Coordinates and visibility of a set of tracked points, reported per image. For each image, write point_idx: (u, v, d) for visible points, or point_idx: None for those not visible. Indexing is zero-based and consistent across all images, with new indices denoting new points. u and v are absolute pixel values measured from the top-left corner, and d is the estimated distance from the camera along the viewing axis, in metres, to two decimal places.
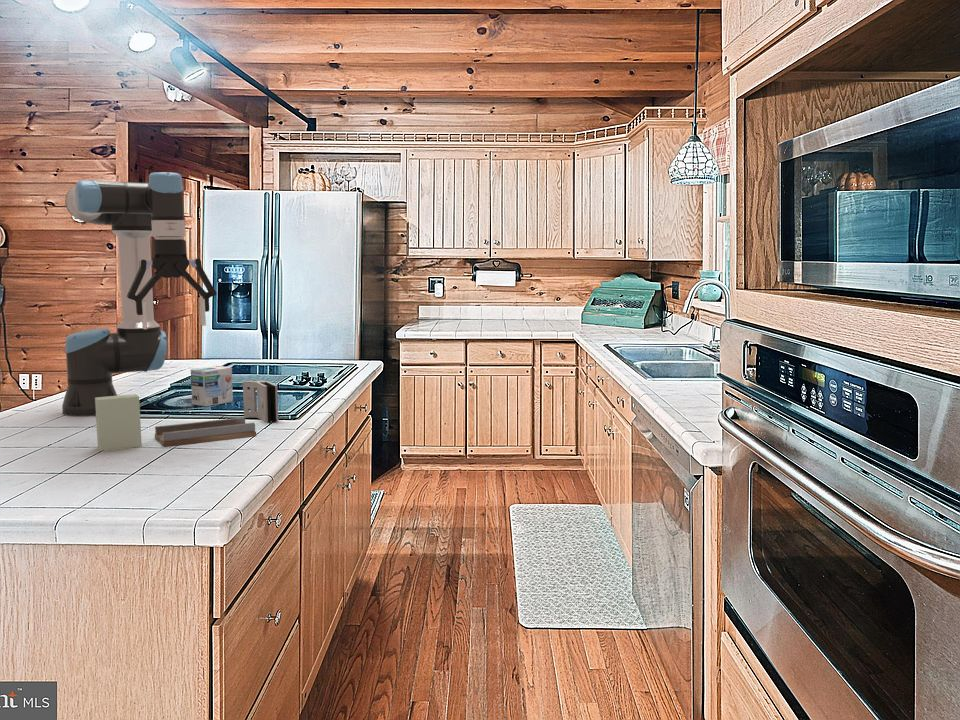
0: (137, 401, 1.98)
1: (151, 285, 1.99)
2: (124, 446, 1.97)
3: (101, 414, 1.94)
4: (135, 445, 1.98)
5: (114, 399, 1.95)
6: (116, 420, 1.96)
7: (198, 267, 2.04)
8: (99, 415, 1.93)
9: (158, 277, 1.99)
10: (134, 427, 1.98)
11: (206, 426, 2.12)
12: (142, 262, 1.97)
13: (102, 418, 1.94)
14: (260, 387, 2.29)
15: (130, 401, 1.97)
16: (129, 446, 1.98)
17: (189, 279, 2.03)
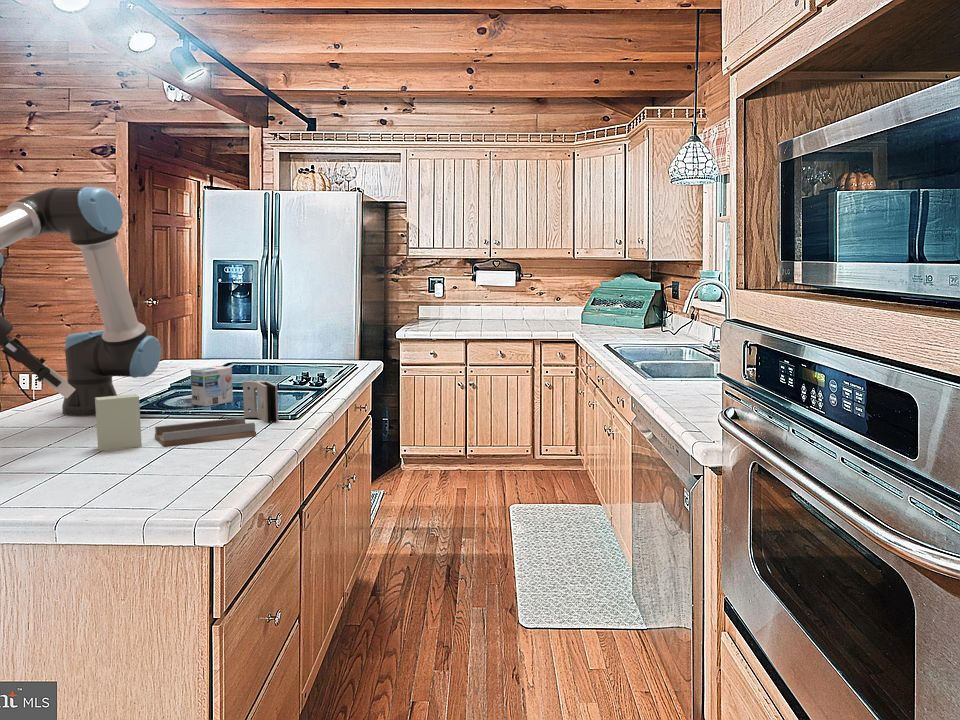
0: (137, 401, 1.98)
1: None
2: (124, 446, 1.97)
3: (101, 414, 1.94)
4: (135, 445, 1.98)
5: (114, 399, 1.95)
6: (116, 420, 1.96)
7: (11, 355, 1.79)
8: (99, 415, 1.93)
9: None
10: (134, 427, 1.98)
11: (206, 426, 2.12)
12: None
13: (102, 418, 1.94)
14: (260, 387, 2.29)
15: (130, 401, 1.97)
16: (129, 446, 1.98)
17: None
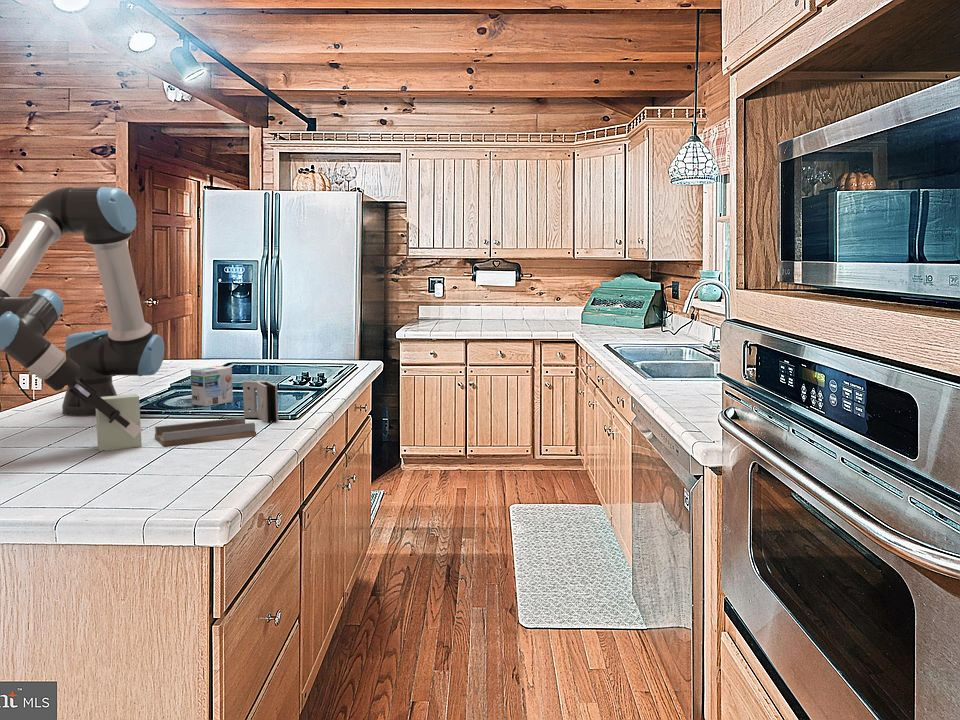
0: (137, 401, 1.98)
1: None
2: (124, 446, 1.97)
3: (101, 414, 1.94)
4: (135, 445, 1.98)
5: (114, 399, 1.95)
6: None
7: (84, 399, 1.88)
8: (99, 415, 1.93)
9: None
10: None
11: (206, 426, 2.12)
12: None
13: (102, 418, 1.94)
14: (260, 387, 2.29)
15: (130, 401, 1.97)
16: (129, 446, 1.98)
17: None
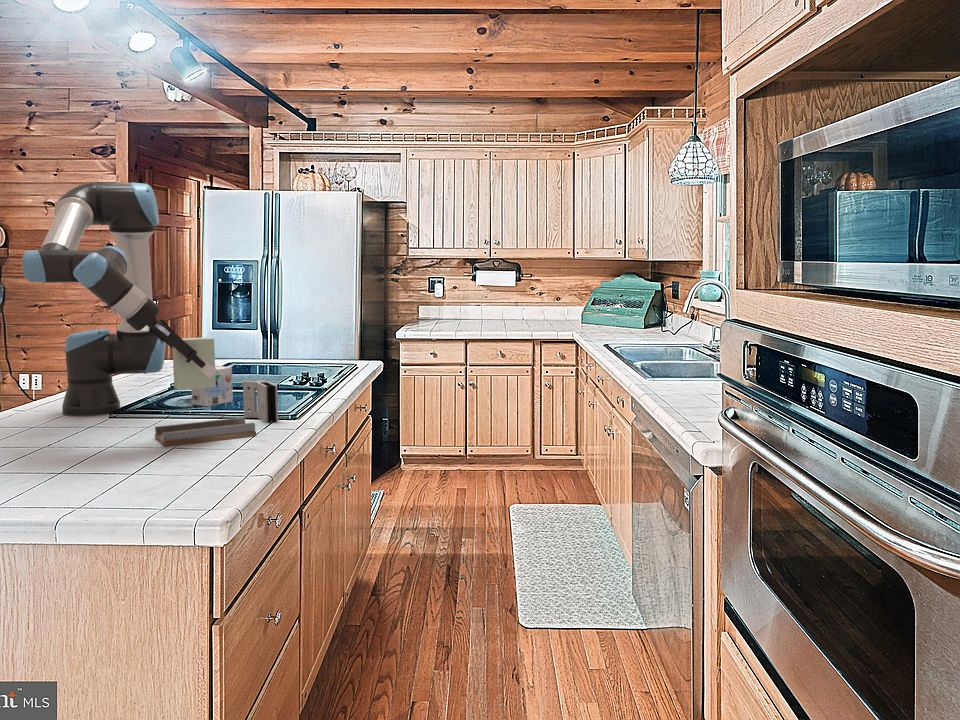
0: (212, 343, 2.05)
1: (170, 345, 2.04)
2: (199, 386, 2.04)
3: (179, 354, 2.01)
4: (210, 386, 2.06)
5: (191, 340, 2.02)
6: None
7: (164, 338, 1.96)
8: (177, 355, 2.01)
9: (161, 340, 2.02)
10: None
11: (206, 426, 2.12)
12: None
13: (180, 358, 2.01)
14: (260, 387, 2.29)
15: (205, 343, 2.04)
16: (204, 386, 2.05)
17: (169, 343, 1.99)
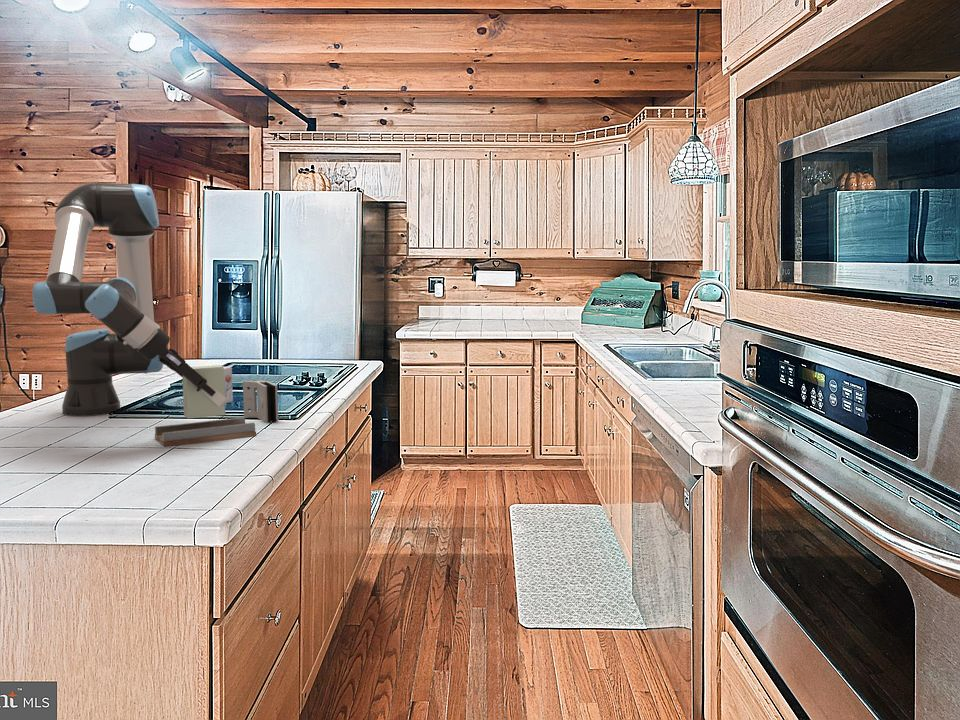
0: (221, 371, 2.07)
1: (179, 374, 2.06)
2: (209, 414, 2.07)
3: (189, 383, 2.03)
4: (219, 413, 2.08)
5: (201, 369, 2.04)
6: None
7: (175, 367, 1.98)
8: (187, 384, 2.03)
9: (171, 369, 2.04)
10: None
11: (206, 426, 2.12)
12: None
13: (190, 387, 2.03)
14: (260, 387, 2.29)
15: (215, 371, 2.06)
16: (214, 414, 2.07)
17: (179, 372, 2.02)
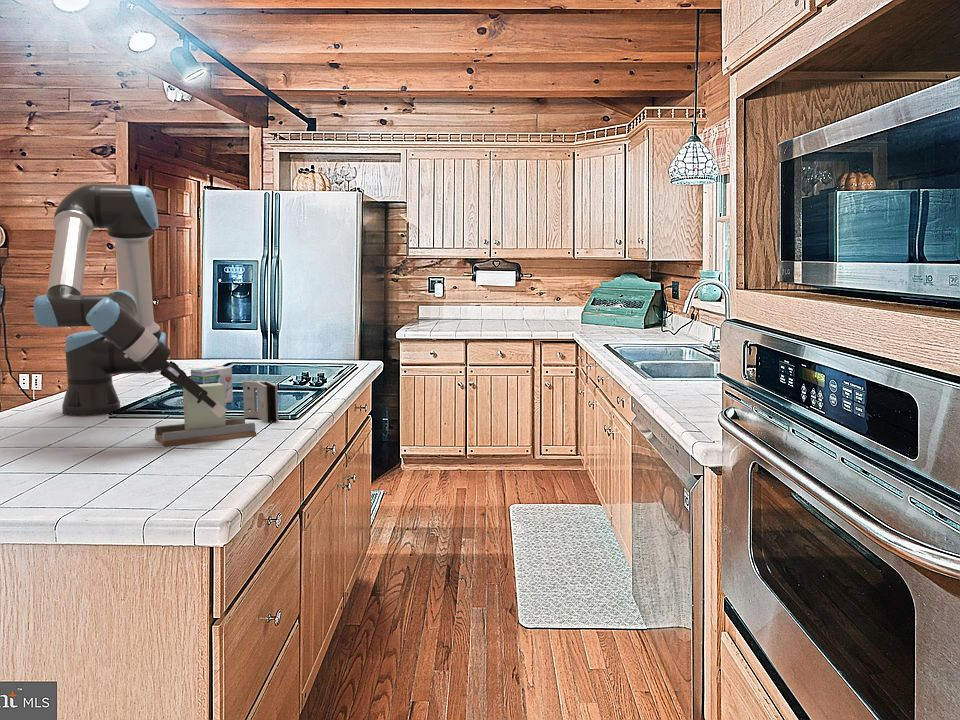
0: (222, 389, 2.08)
1: (177, 384, 2.08)
2: None
3: (190, 401, 2.04)
4: None
5: (201, 387, 2.05)
6: (203, 407, 2.06)
7: (174, 379, 1.98)
8: (188, 402, 2.04)
9: None
10: None
11: None
12: (158, 369, 2.07)
13: (191, 405, 2.04)
14: (260, 387, 2.29)
15: (216, 389, 2.07)
16: None
17: (180, 384, 2.01)
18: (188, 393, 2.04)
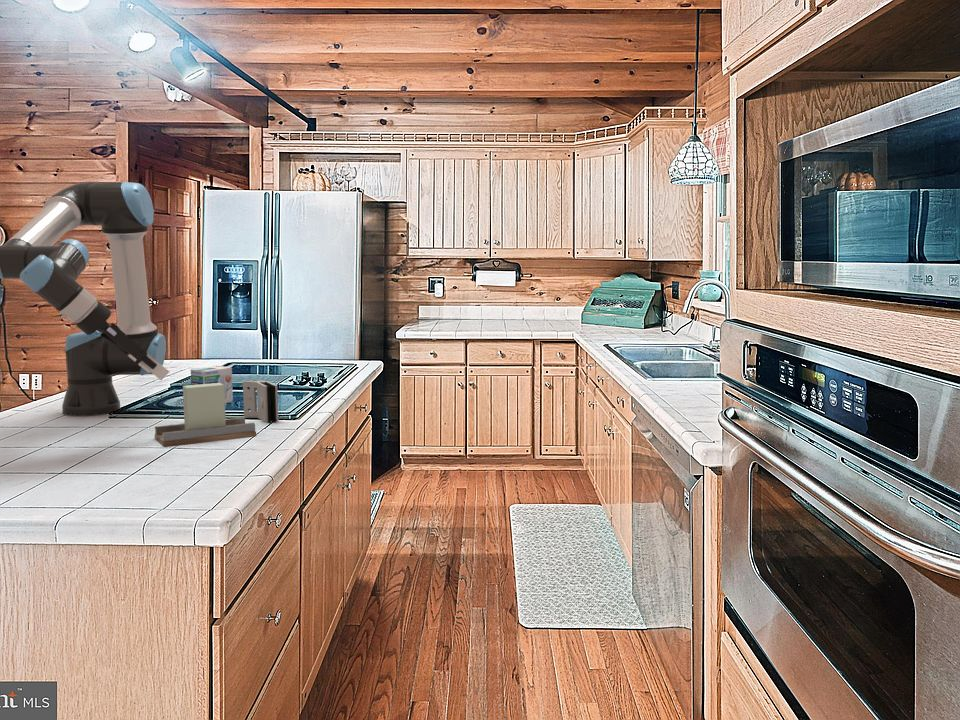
0: (222, 389, 2.08)
1: (117, 345, 2.00)
2: None
3: (190, 401, 2.04)
4: None
5: (201, 387, 2.05)
6: (203, 407, 2.06)
7: (112, 339, 1.89)
8: (188, 402, 2.04)
9: (110, 342, 1.98)
10: (219, 414, 2.08)
11: None
12: (97, 330, 1.99)
13: (191, 405, 2.04)
14: (260, 387, 2.29)
15: (216, 389, 2.07)
16: None
17: (120, 346, 1.92)
18: (188, 393, 2.04)
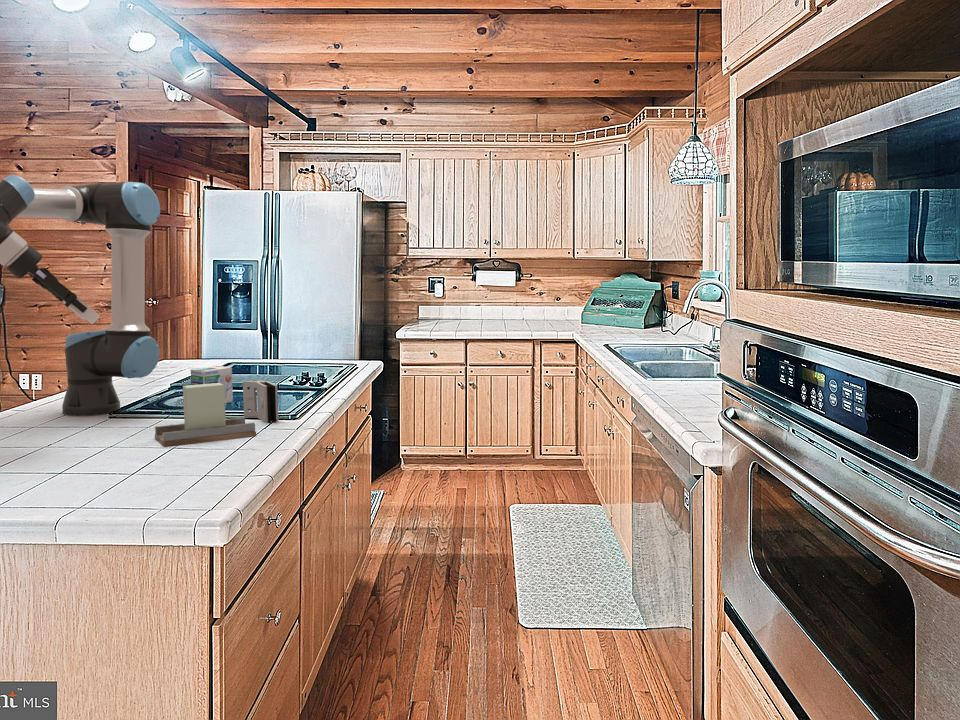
0: (222, 389, 2.08)
1: (50, 291, 2.03)
2: None
3: (190, 401, 2.04)
4: None
5: (201, 387, 2.05)
6: (203, 407, 2.06)
7: (41, 281, 1.92)
8: (188, 402, 2.04)
9: None
10: (219, 414, 2.08)
11: None
12: None
13: (191, 405, 2.04)
14: (260, 387, 2.29)
15: (216, 389, 2.07)
16: None
17: (50, 289, 1.95)
18: (188, 393, 2.04)
